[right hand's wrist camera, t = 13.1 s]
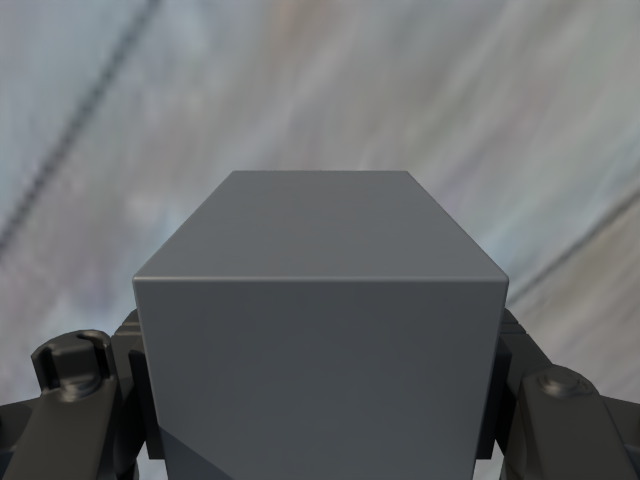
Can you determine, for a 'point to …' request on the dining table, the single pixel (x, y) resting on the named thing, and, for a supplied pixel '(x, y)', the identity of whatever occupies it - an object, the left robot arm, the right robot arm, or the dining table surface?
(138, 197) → the dining table surface
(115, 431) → the right robot arm
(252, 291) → the bar
